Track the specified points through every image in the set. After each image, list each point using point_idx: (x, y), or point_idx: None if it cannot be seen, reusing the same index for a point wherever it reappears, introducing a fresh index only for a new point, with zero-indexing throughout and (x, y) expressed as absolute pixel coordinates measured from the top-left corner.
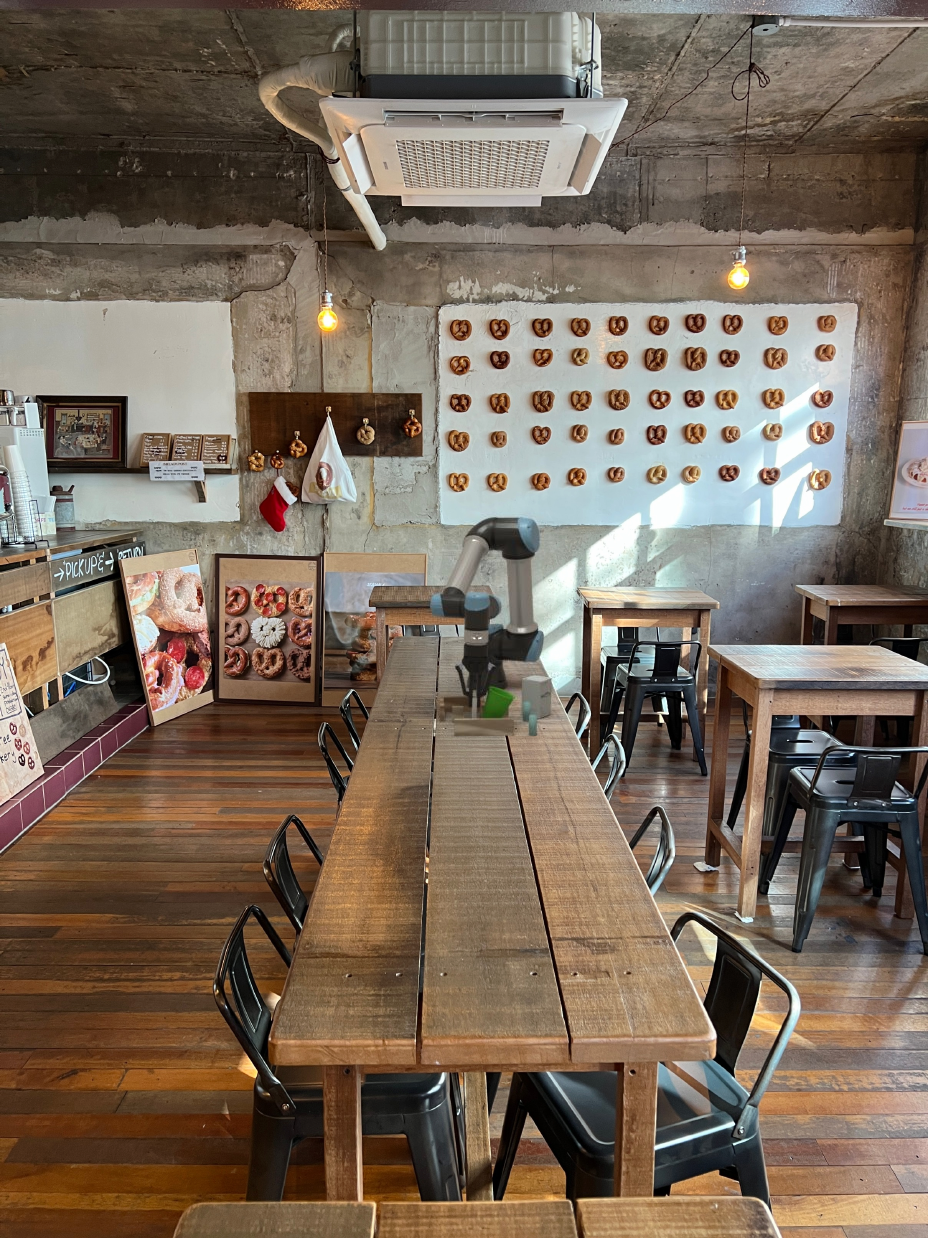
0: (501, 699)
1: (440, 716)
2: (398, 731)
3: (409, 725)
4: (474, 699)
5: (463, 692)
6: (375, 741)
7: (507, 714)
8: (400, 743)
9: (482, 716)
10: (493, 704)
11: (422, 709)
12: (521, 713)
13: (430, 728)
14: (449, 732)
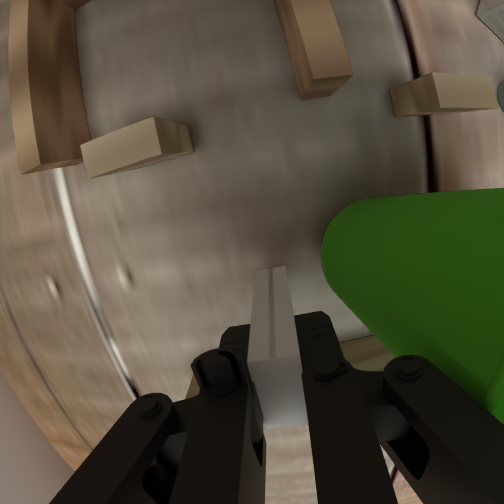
0: (500, 404)
1: (62, 166)
2: (13, 326)
3: (5, 254)
4: (285, 418)
5: (162, 472)
6: (25, 402)
7: (464, 111)
8: (78, 424)
9: (335, 284)
10: None
11: (7, 21)
12: (482, 14)
13: (74, 285)
14: (167, 335)
